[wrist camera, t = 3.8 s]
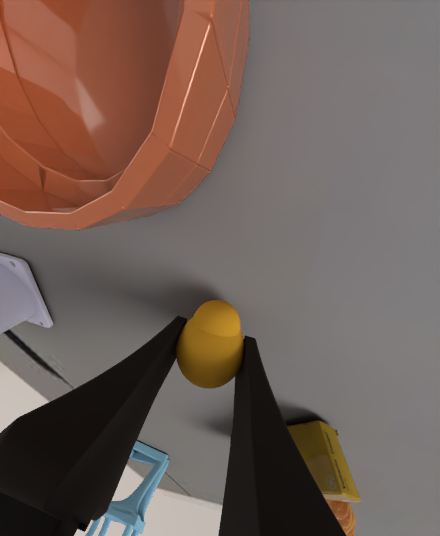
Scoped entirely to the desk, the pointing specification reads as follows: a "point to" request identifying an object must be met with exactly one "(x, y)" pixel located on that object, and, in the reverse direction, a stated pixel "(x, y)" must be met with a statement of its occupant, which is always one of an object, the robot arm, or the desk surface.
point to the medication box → (325, 460)
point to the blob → (211, 345)
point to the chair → (135, 494)
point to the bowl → (114, 105)
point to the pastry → (344, 516)
